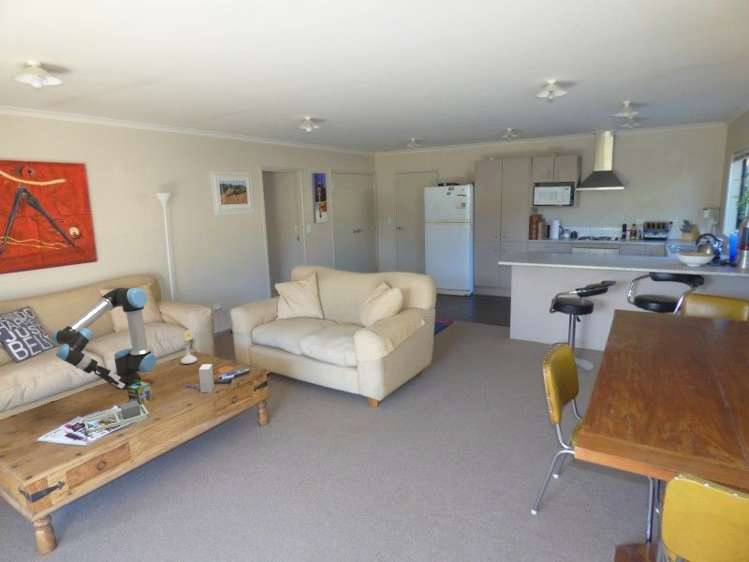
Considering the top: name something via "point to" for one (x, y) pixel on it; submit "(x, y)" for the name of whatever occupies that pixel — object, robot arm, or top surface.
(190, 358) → the flower in vase
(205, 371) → the skincare box
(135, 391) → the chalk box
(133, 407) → the grey block
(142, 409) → the caddy
